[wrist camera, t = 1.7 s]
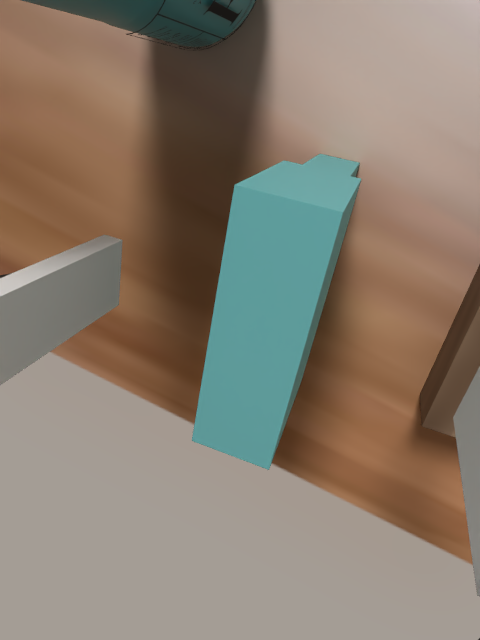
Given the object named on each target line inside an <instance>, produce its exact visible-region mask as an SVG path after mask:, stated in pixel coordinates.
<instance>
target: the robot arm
mask: <svg viewBox="0 0 480 640" xmlns="http://www.w3.org/2000/svg"><path fill="white" fill-rule="evenodd" d="M121 255H122V240H121V239H117V238H114V237H111V236H107V235H103V236H100V237H98V238H95V239H93V240H91V241H88V242H86V243H84V244H81V245H79V246H76V247H74V248H72V249H69V250H67V251H64V252H62V253H60V254H57V255H55V256H52V257H50V258H48V259H45V260H43V261H40V262H38V263H36V264H33V265H31V266H29V267H26V268H24V269H21V270H19V271H17V272H14V273H11V274H6V275H0V385H1V384H3V383H4V382H6V381H7V380H9V379H10V378H11V377H13V376H14V375H16V374H17V373H19V372H20V371H22V370H23V369H25V368H26V367H28V366H29V365H31V364H32V363H34V362H35V361H37V360H38V359H40V358H41V357H42V356H44V355H45V354H47V353H48V352H50V351H51V350H53V349H54V348H56V347H57V346H59V345H60V344H62V343H63V342H65V341H66V340H68V339H69V338H70V337H72V336H73V335H75V334H76V333H78V332H79V331H81V330H82V329H84V328H85V327H87V326H88V325H90V324H91V323H93V322H94V321H96V320H97V319H99V318H100V317H101V316H103V315H104V314H106V313H107V312H109V311H110V310H112V309H113V308H115V307H116V306H118V305H119V291H120V273H121ZM453 420H454V427H455V435H456V442H457V449H458V457H459V464H460V472H461V479H462V486H463V494H464V501H465V509H466V516H467V523H468V531H469V538H470V546H471V553H472V560H473V568H474V575H475V583H476V590H477V596H480V367H479V368H478V370H477V372H476V374H475V376H474V378H473V380H472V382H471V384H470V386H469V388H468V390H467V392H466V394H465V395H464V397H463V399H462V401H461V403H460V405H459V407H458V409H457V411H456V413H455V415H454V417H453ZM479 640H480V638H479Z"/></svg>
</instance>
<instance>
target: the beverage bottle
mask: <svg viewBox="0 0 480 640" xmlns="http://www.w3.org/2000/svg"><path fill="white" fill-rule="evenodd" d="M22 1H26V2H30V3H33V4H37V5H41V6H45V7H49V8H52V9H56V10H60V11H64V12H68V13H71V14H75V15H79V16H83V17H87V18H90V19H94V20H98V21H102V22H105V23H107V24H109V25H112V26H115V27H118V28H121V29H125V30H128V31H132V32H133V33H139V35H140V34H141V35H142V34H143V35H146V36H147V37H153V38H157V39H158V40H159V39H160V40H164V41H167V43H173V44H178V45H179V46H178V47H183V46H188V47H189V48H190V49H191V48H193V47H197V49H198V48H199V47H200V46H206V45H208V46H210V45H212V44H213V43H215V42H217V41H219V40H221V39H223V41H224V40H226V39H227V38H228V37H227V38H226V39H224V37H226V36H227V35H229V34H230V33H231V32H233V31H234V30H235V29H236V28H237V27H238V26H239V25H240V24H241V23H242V22H244V21H245V20H246V19H245V18H247V17H248V16H247V15H249V14H248V13H250V12H251V11H250V10H252V9H251V8H253V6H254V4H255V3H254V2H256V0H22ZM246 16H247V17H246ZM244 19H245V20H244ZM243 20H244V21H243ZM242 24H243V23H242ZM242 24H241V25H242ZM241 25H240V26H241ZM240 26H239V27H240ZM239 27H238V28H239ZM238 28H237V29H238ZM237 29H236V30H237ZM133 33H129V34H133ZM129 34H127V35H129ZM232 34H233V33H232ZM232 34H231V35H232ZM231 35H230V36H231ZM131 36H132V35H131ZM135 37H136V36H135ZM139 38H140V37H139ZM142 39H144V38H142ZM146 40H147V39H146ZM150 41H151V40H150ZM154 42H155V41H154ZM221 42H222V41H221ZM221 42H220V43H221ZM157 43H159V42H157ZM161 44H162V43H161ZM218 44H219V43H218ZM165 45H166V44H165ZM180 45H181V46H180ZM182 45H183V46H182ZM216 45H217V44H216ZM169 46H170V45H169ZM214 46H215V45H214ZM172 47H174V46H172ZM206 47H207V46H206ZM211 47H212V46H211ZM176 48H177V47H176ZM189 48H188V49H189ZM203 48H204V47H203ZM209 48H210V47H209ZM180 49H181V48H180ZM199 49H200V48H199ZM205 49H206V48H205ZM184 50H185V49H184ZM201 50H203V49H201ZM193 51H194V50H193Z"/></svg>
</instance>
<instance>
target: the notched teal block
mask: <svg viewBox="0 0 480 640" xmlns="http://www.w3.org/2000/svg"><path fill="white" fill-rule="evenodd" d="M359 164H360V163H358V162H354V161H349V160H345V159H341V158H336V157H332V156H328V155H323V154H319V155H317V156H316V157H314V158H312V159H311V160H309V161H308V162H306V163H304V164H303V165H301V164H297V163H293V162H289V161H282V162H280V163H278V164H276V165H274V166H272V167H270V168H268V169H266V170H264V171H262V172H260V173H258V174H256V175H254V176H252V177H249V178H247V179H245V180H243V181H241V182H239V183H237V184H235V185H234V191H233V197H232V203H231V209H230V215H229V221H228V227H227V233H226V239H225V245H224V251H223V257H222V263H221V269H220V275H219V281H218V287H217V293H216V299H215V305H214V311H213V317H212V323H211V329H210V335H209V341H208V347H207V353H206V359H205V365H204V371H203V377H202V383H201V389H200V395H199V401H198V407H197V413H196V419H195V425H194V431H193V437H192V441H194V442H197V443H199V444H202V445H205V446H207V447H210V448H213V449H215V450H218V451H221V452H223V453H226V454H228V455H231V456H234V457H237V458H239V459H242V460H244V461H247V462H250V463H252V464H255V465H257V466H260V467H263V468H266V469H268V470H269V468H270V466H271V463H272V460H273V457H274V455H275V452H276V449H277V447H278V444H279V441H280V438H281V436H282V433H283V430H284V427H285V425H286V422H287V419H288V416H289V414H290V411H291V408H292V406H293V403H294V400H295V397H296V395H297V392H298V389H299V386H300V384H301V381H302V377H303V374H304V371H305V367H306V364H307V361H308V357H309V354H310V351H311V347H312V344H313V340H314V337H315V334H316V330H317V327H318V324H319V320H320V317H321V313H322V310H323V307H324V303H325V300H326V297H327V293H328V290H329V287H330V283H331V280H332V276H333V273H334V270H335V266H336V263H337V260H338V256H339V253H340V250H341V246H342V243H343V239H344V236H345V233H346V229H347V226H348V223H349V219H350V216H351V213H352V209H353V206H354V202H355V199H356V196H357V192H358V189H359V186H360V182H361V179H360V178H356V174H357V171H358V168H359Z"/></svg>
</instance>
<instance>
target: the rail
mask: <svg viewBox="0 0 480 640" xmlns="http://www.w3.org/2000/svg"><path fill="white" fill-rule="evenodd" d="M479 367H480V265H479V267H478V269H477V272H476V274H475V276H474V278H473V280H472V282H471V285H470V287H469V289H468V291H467V293H466V295H465V298H464V300H463V302H462V304H461V306H460V308H459V311H458V313H457V315H456V317H455V319H454V322H453V324H452V326H451V328H450V330H449V332H448V335H447V337H446V339H445V341H444V343H443V345H442V348H441V350H440V352H439V354H438V356H437V359H436V361H435V363H434V365H433V367H432V369H431V372H430V374H429V376H428V378H427V380H426V382H425V385H424V387H423V389H422V391H421V393H420V405H421V422H422V426H423V427H426V428H428V429H431V430H434V431H437V432H440V433H443V434H446V435H449V436H452V437H455V438H456V435H455V427H454V420H453V417H454V415H455V413H456V411H457V409H458V407H459V405H460V403H461V401H462V399H463V397H464V395H465V394H466V392H467V390H468V388H469V386H470V384H471V382H472V380H473V378H474V376H475V374H476V372H477V370H478V368H479Z"/></svg>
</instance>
